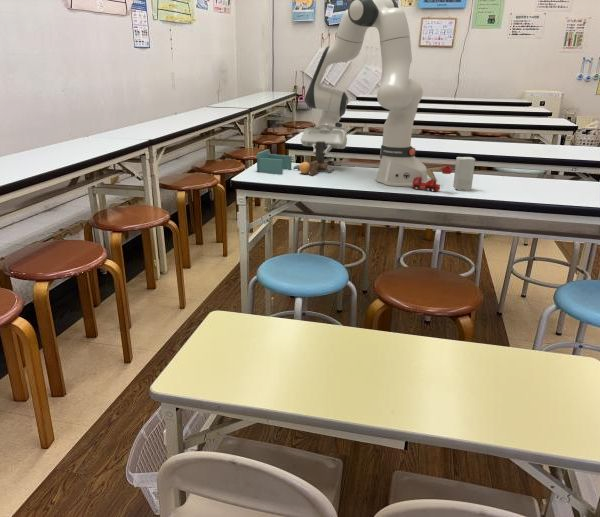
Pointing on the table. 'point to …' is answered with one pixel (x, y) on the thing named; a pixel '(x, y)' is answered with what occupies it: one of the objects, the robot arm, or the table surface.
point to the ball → (304, 167)
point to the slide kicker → (318, 159)
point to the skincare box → (464, 172)
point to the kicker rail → (319, 169)
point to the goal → (272, 162)
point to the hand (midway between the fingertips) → (319, 154)
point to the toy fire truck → (431, 183)
